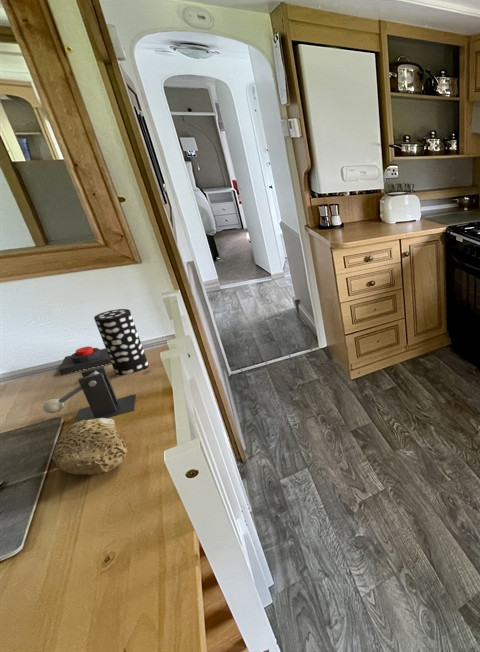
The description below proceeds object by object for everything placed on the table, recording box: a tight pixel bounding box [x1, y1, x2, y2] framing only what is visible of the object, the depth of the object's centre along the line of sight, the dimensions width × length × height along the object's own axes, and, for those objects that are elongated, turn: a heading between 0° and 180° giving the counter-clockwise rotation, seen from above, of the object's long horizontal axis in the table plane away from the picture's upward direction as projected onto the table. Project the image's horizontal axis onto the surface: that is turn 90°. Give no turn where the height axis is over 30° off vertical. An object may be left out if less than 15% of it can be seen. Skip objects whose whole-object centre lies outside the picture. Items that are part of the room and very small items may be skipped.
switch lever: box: [42, 371, 99, 414], centre depth 97 cm, size 13×4×4 cm, turn 127°
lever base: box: [74, 366, 137, 423], centre depth 100 cm, size 12×9×13 cm
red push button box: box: [58, 347, 111, 376], centre depth 126 cm, size 12×10×4 cm
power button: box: [74, 345, 94, 356], centre depth 125 cm, size 4×4×2 cm
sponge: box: [51, 418, 128, 476], centre depth 86 cm, size 13×8×20 cm
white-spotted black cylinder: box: [93, 308, 150, 377], centre depth 119 cm, size 8×8×20 cm
